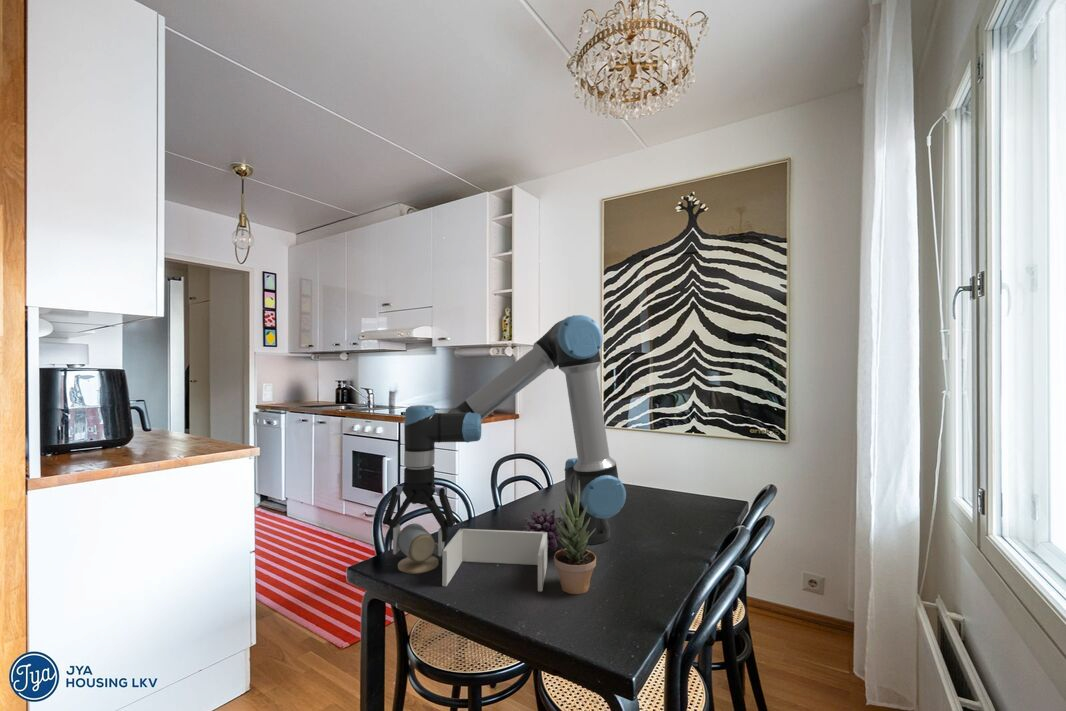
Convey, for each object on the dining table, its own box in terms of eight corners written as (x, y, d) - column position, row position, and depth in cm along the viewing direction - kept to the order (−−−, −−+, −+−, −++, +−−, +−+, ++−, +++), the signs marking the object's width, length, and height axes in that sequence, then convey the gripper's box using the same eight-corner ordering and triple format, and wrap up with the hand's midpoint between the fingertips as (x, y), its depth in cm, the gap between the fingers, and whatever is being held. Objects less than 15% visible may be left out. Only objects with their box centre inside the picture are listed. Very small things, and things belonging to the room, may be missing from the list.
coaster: (443, 558, 123) (443, 555, 123) (431, 574, 113) (431, 572, 113) (406, 556, 124) (406, 554, 124) (391, 572, 114) (391, 570, 114)
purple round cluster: (574, 552, 127) (574, 507, 127) (544, 565, 118) (544, 517, 119) (543, 540, 135) (543, 499, 135) (513, 552, 127) (513, 508, 127)
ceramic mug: (408, 567, 112) (409, 534, 113) (396, 556, 119) (397, 525, 119) (448, 557, 119) (449, 527, 119) (435, 547, 125) (436, 518, 125)
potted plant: (566, 602, 100) (566, 485, 100) (547, 583, 108) (547, 476, 109) (606, 593, 104) (605, 481, 104) (584, 575, 112) (584, 472, 113)
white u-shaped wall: (547, 563, 119) (547, 532, 119) (542, 591, 104) (542, 555, 104) (459, 559, 122) (459, 528, 122) (442, 586, 107) (442, 550, 107)
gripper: (468, 464, 121) (467, 549, 121) (381, 462, 124) (380, 545, 123) (460, 470, 114) (460, 561, 113) (368, 468, 116) (367, 557, 116)
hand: (418, 553), depth 118 cm, fingers closed on ceramic mug, 11 cm apart
